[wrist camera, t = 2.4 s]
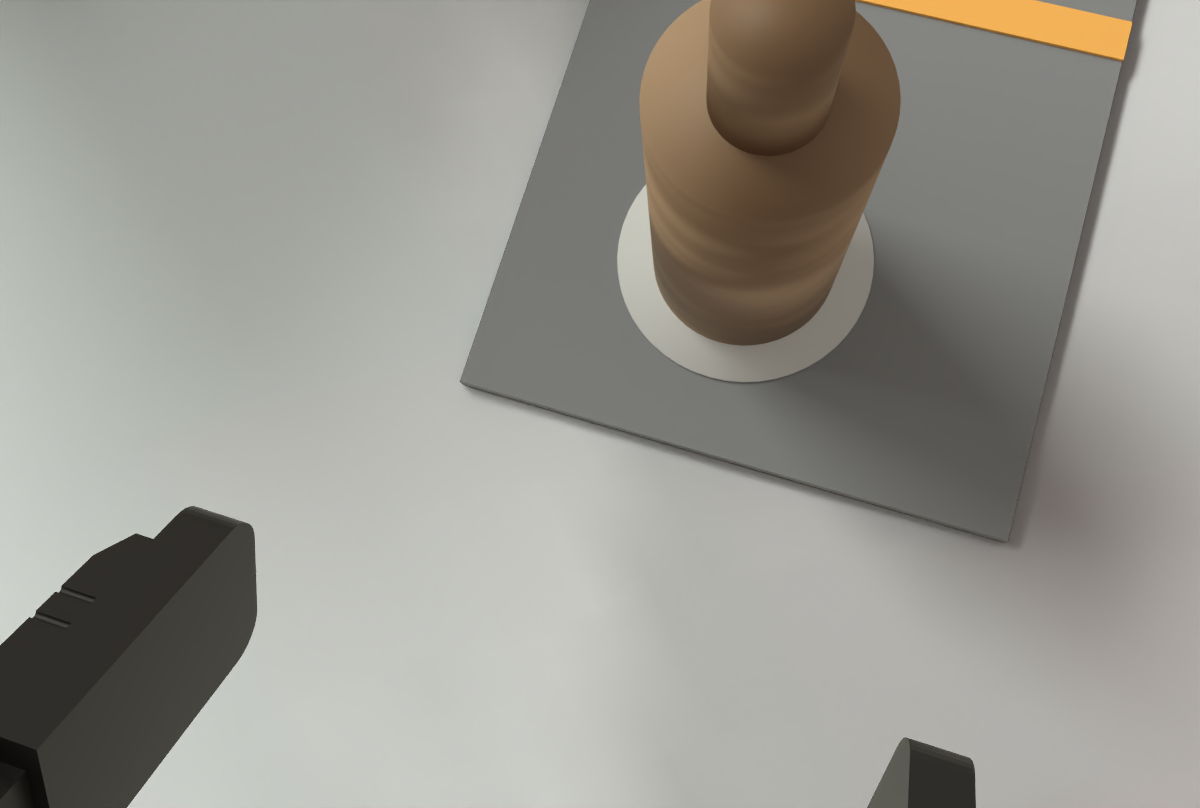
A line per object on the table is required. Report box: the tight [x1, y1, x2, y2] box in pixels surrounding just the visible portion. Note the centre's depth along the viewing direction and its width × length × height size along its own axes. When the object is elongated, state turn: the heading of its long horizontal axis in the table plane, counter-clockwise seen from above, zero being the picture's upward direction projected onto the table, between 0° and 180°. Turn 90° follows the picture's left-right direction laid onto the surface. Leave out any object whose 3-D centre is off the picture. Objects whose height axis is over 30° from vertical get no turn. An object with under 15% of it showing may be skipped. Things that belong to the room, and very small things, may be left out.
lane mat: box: [460, 0, 1137, 542], centre depth 31 cm, size 15×25×1 cm, turn 163°
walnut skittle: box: [639, 0, 901, 346], centre depth 24 cm, size 5×5×12 cm
